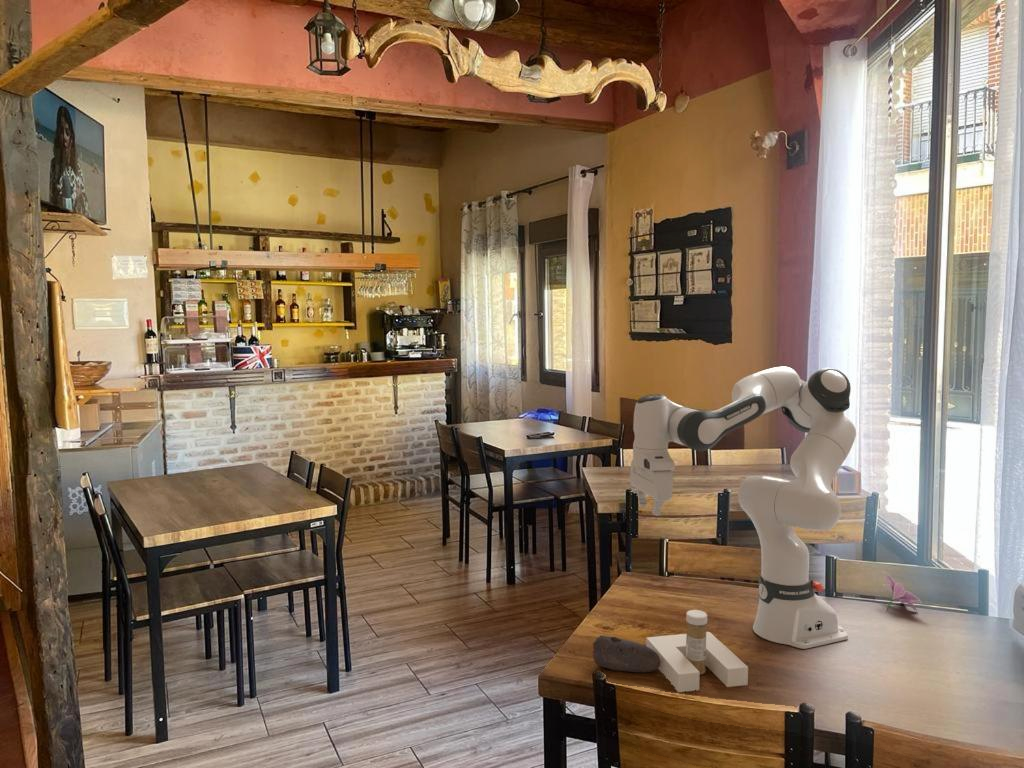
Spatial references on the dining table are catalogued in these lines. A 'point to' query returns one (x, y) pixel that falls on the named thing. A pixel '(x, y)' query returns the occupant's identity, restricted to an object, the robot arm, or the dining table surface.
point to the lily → (900, 592)
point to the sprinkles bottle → (696, 639)
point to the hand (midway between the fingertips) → (649, 510)
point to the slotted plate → (685, 673)
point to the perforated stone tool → (624, 655)
